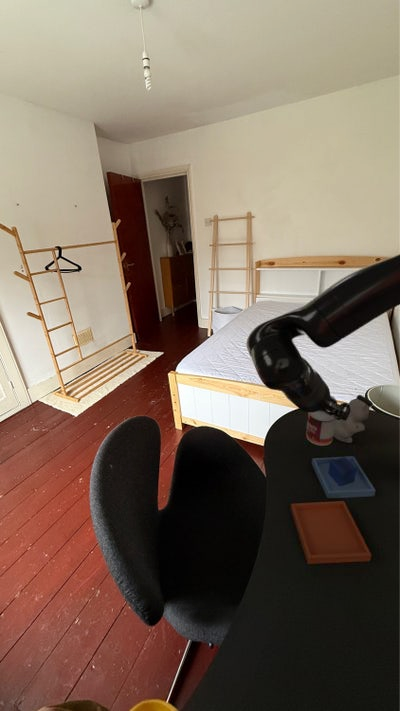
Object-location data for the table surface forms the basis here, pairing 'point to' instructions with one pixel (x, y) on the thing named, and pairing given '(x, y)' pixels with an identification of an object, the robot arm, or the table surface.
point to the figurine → (353, 419)
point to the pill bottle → (320, 427)
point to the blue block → (342, 471)
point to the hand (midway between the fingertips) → (325, 410)
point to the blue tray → (333, 490)
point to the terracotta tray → (329, 533)
